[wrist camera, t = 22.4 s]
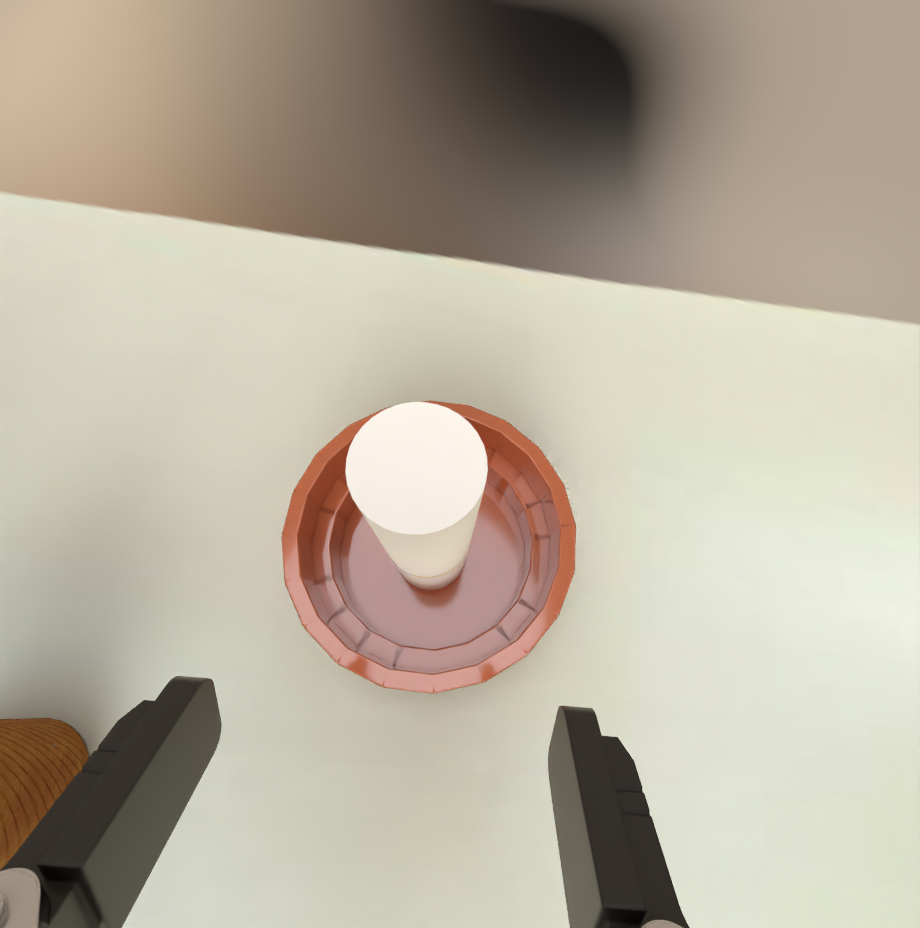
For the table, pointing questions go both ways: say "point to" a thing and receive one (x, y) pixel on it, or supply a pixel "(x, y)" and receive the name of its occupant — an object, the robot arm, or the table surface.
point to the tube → (419, 488)
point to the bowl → (442, 610)
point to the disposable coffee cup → (33, 774)
